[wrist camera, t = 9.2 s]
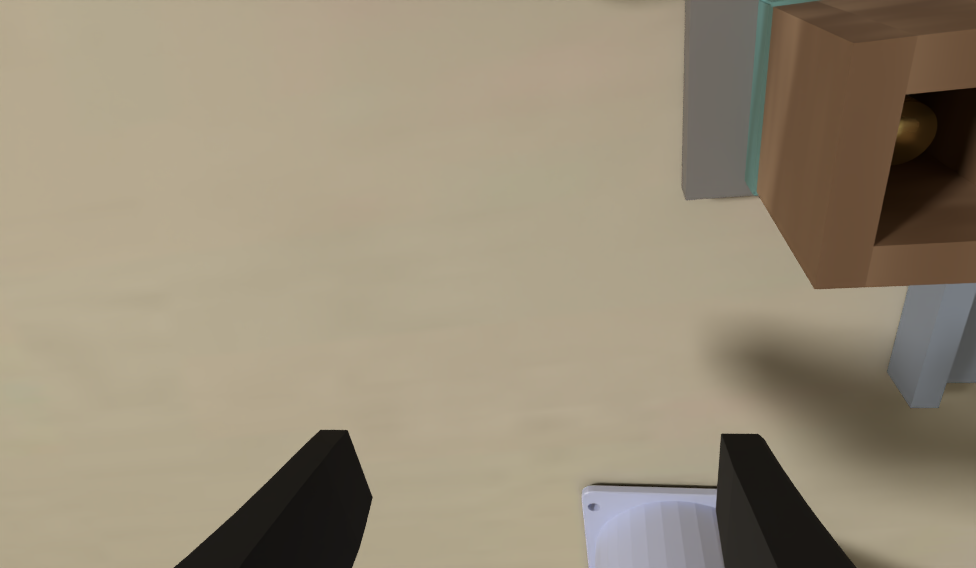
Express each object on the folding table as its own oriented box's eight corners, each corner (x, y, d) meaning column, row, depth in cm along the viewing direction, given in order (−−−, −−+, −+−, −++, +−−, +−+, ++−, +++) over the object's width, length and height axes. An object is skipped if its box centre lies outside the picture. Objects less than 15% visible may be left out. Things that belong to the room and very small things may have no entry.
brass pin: (874, 123, 15) (929, 162, 13) (816, 128, 16) (858, 168, 13) (884, 68, 15) (944, 97, 12) (823, 75, 15) (869, 105, 12)
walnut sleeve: (985, -34, 13) (1225, -9, 8) (935, 167, 16) (1096, 282, 11) (758, -2, 14) (847, 37, 9) (744, 182, 17) (808, 293, 12)
